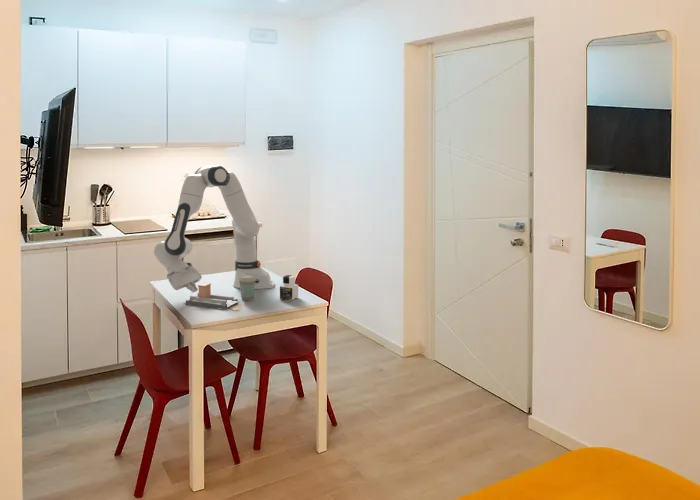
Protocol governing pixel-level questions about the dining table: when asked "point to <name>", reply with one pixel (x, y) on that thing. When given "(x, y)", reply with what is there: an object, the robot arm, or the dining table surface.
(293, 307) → the dining table surface
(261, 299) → the dining table surface
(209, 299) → the switch board
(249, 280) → the coffee cup
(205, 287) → the switch tab
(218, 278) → the dining table surface
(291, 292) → the medicine bottle
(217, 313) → the dining table surface
